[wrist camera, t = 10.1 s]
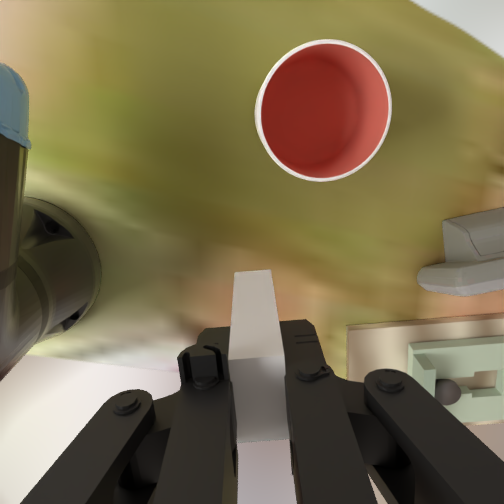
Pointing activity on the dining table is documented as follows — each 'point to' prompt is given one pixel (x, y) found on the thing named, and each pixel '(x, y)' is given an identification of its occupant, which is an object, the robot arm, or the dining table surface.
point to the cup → (323, 110)
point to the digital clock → (469, 256)
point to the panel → (462, 373)
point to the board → (416, 331)
